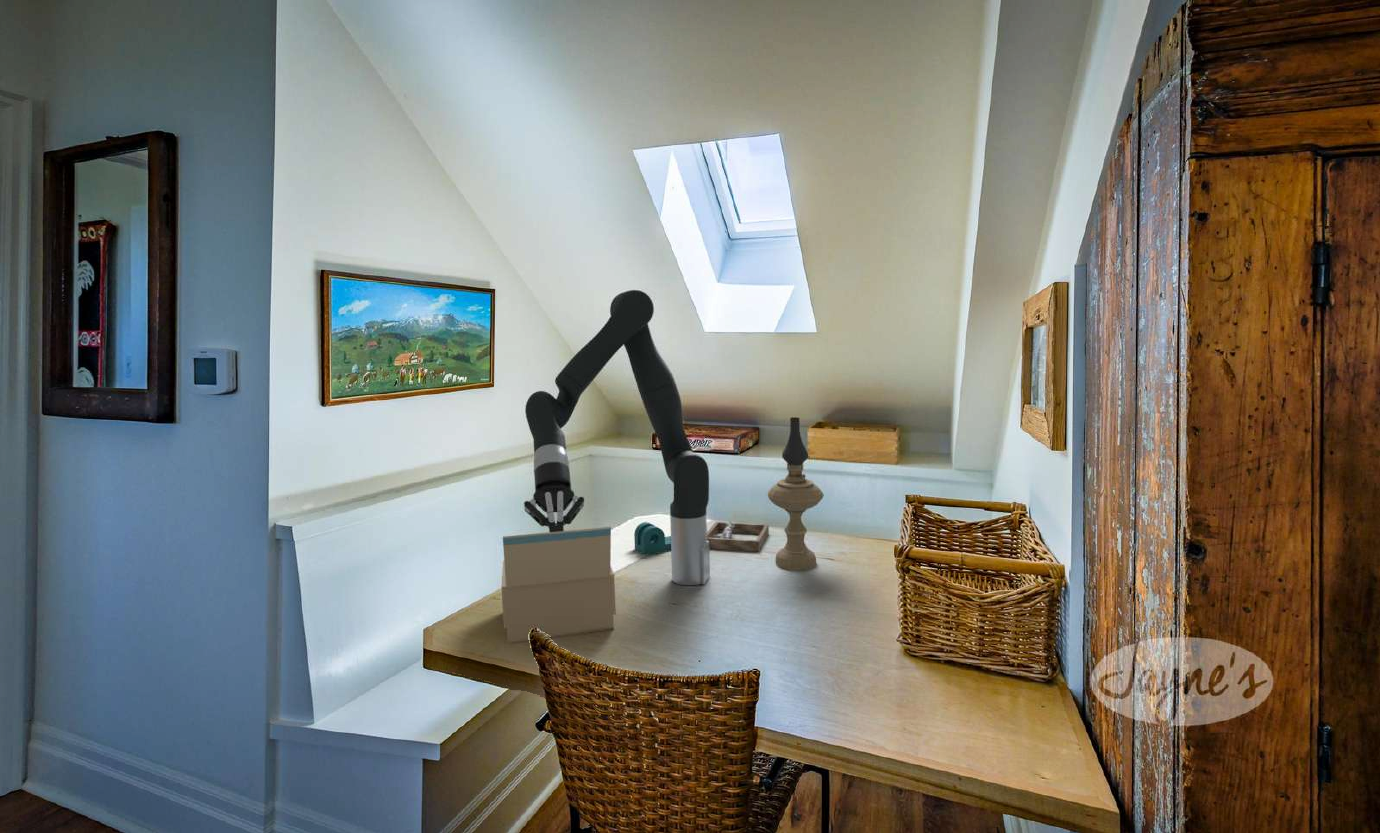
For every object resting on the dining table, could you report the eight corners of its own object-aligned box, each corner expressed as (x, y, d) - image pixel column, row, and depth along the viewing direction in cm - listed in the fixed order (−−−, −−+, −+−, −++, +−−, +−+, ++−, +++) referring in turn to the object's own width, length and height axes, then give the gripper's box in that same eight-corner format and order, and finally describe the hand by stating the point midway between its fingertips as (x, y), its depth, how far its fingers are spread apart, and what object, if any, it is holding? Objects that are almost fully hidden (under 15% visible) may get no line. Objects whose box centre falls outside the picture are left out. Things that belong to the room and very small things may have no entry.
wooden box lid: (502, 536, 131) (502, 538, 131) (610, 526, 136) (610, 528, 136) (506, 585, 136) (506, 587, 136) (609, 574, 141) (610, 576, 141)
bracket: (644, 556, 192) (643, 529, 192) (634, 549, 198) (633, 524, 197) (698, 545, 201) (698, 520, 200) (688, 539, 207) (687, 515, 206)
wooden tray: (768, 533, 210) (768, 524, 210) (759, 551, 193) (758, 541, 193) (716, 530, 215) (716, 521, 215) (702, 547, 198) (701, 538, 197)
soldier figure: (710, 547, 201) (712, 525, 212) (722, 557, 202) (723, 534, 213) (727, 532, 198) (728, 510, 209) (740, 541, 200) (740, 519, 210)
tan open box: (506, 609, 156) (503, 559, 154) (605, 597, 161) (603, 549, 160) (504, 643, 138) (501, 587, 136) (616, 629, 143) (614, 575, 142)
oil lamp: (789, 576, 172) (788, 422, 168) (757, 560, 186) (755, 417, 181) (835, 566, 179) (835, 418, 175) (801, 551, 192) (800, 413, 188)
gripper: (519, 462, 141) (523, 535, 131) (583, 458, 144) (591, 529, 134) (521, 482, 147) (524, 553, 136) (581, 477, 150) (589, 547, 140)
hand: (557, 541), depth 135 cm, fingers closed
